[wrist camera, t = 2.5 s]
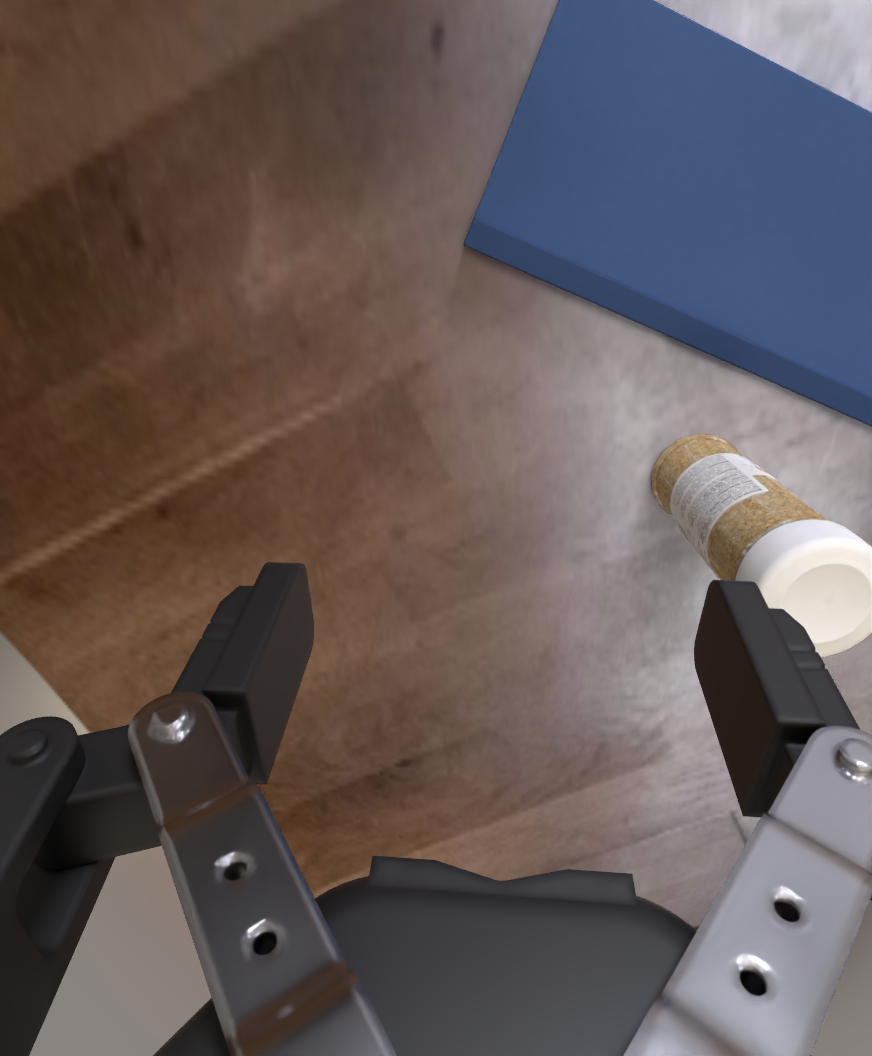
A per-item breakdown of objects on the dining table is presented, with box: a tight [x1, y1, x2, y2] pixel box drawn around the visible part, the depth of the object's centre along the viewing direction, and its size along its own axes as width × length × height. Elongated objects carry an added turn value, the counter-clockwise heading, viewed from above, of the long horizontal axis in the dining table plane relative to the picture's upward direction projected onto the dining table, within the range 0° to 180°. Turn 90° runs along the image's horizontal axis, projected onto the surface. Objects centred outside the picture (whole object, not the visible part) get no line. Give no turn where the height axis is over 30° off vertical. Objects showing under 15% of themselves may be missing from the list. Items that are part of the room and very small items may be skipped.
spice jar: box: [652, 434, 872, 657], centre depth 29 cm, size 5×5×13 cm
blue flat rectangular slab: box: [464, 0, 872, 426], centre depth 30 cm, size 24×11×1 cm, turn 68°
